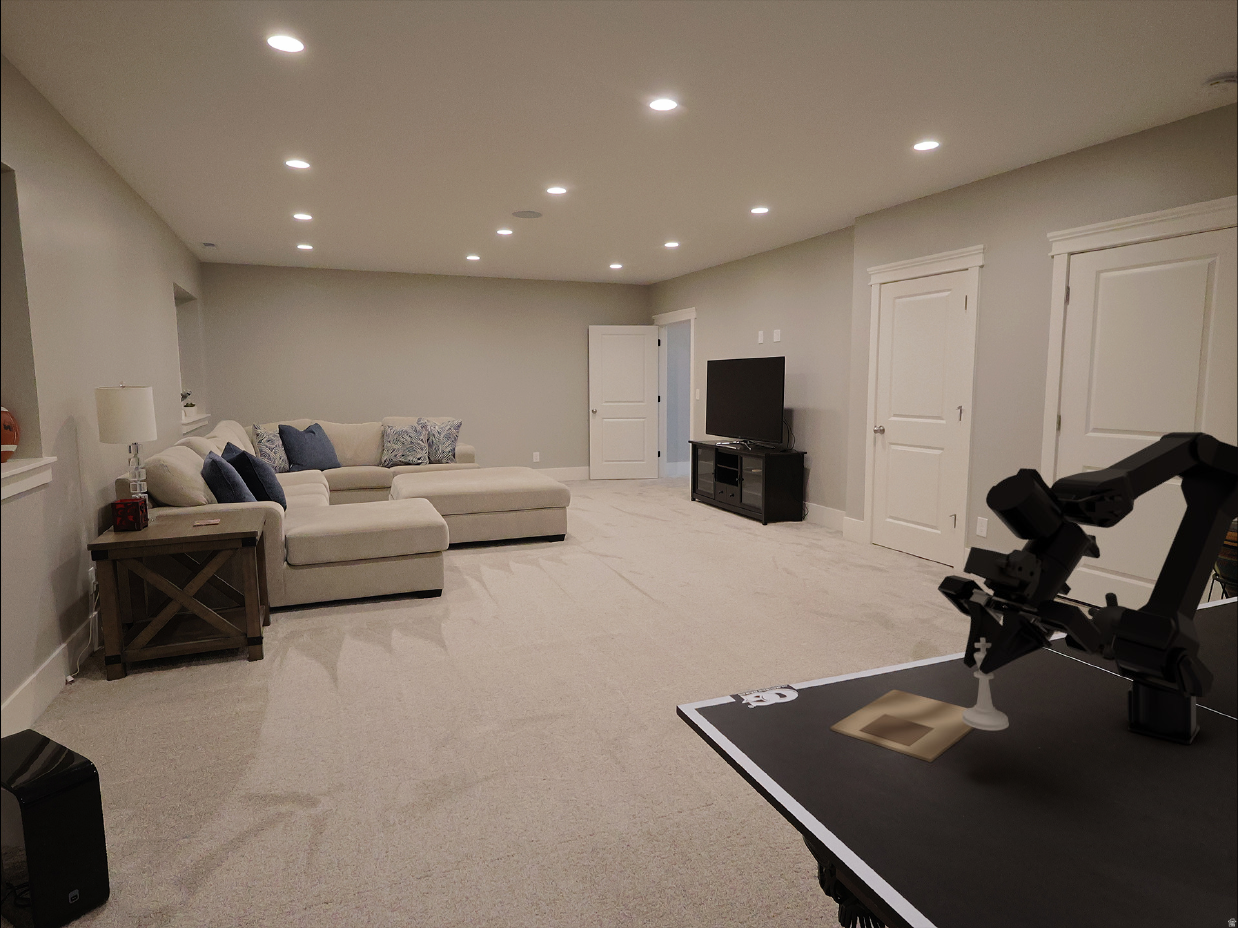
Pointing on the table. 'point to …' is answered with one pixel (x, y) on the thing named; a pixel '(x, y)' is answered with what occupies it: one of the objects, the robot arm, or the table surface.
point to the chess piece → (984, 699)
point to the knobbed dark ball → (1107, 622)
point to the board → (907, 724)
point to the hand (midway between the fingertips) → (974, 668)
